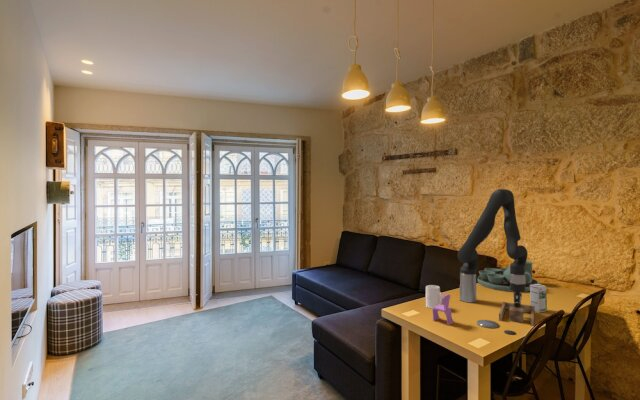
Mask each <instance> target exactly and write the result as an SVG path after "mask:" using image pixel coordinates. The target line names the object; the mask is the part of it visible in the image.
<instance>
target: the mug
mask: <svg viewBox="0 0 640 400" xmlns="http://www.w3.org/2000/svg"><path fill="white" fill-rule="evenodd" d="M444 296H445V295H444V294H443V293H442V292H441V287H440V286H439V285H435V284H429V285H426V286H425V296H424V297H425V307H426V308H427V307H428V308H427V309H430V308H431V309H432V310H433V307H436V306H438V305H443V304H441V300H442V298H443V297H444ZM443 306H444V305H443ZM431 309H430V310H431Z"/></svg>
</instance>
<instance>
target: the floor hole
mask: <svg viewBox="0 0 640 400" xmlns="http://www.w3.org/2000/svg"><path fill="white" fill-rule="evenodd" d="M503 333H504V334H507V335H509V336H510V335H511V336H515V335H516V334H517V332H515V331H514V330H509V329H507V330H504V331H503Z"/></svg>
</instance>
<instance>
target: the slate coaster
mask: <svg viewBox="0 0 640 400" xmlns="http://www.w3.org/2000/svg"><path fill="white" fill-rule="evenodd" d="M476 325H478V326H479V327H482V328H487V329H498V328H499V323H498V322H496V321H493V320H490V319H479V320H477V321H476Z"/></svg>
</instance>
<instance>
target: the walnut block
mask: <svg viewBox="0 0 640 400" xmlns="http://www.w3.org/2000/svg"><path fill="white" fill-rule="evenodd" d="M508 310H509V311H508V312H509V313H508V314H509V319H508V320H509V322H512V323H513V322H514V323H519V324H523V323H524V311H523V308H517V307H510V309H508Z"/></svg>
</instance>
